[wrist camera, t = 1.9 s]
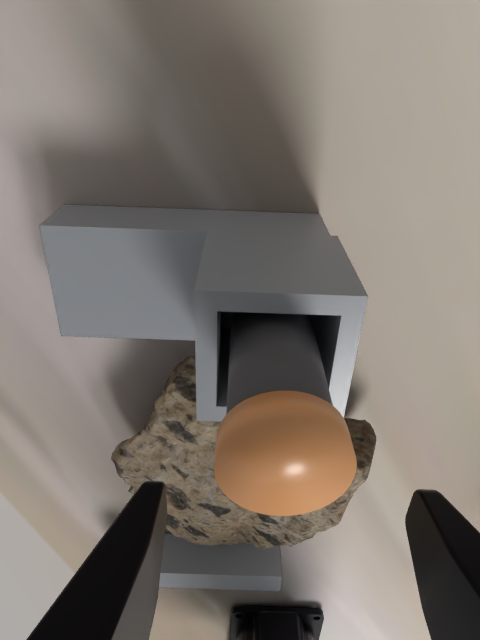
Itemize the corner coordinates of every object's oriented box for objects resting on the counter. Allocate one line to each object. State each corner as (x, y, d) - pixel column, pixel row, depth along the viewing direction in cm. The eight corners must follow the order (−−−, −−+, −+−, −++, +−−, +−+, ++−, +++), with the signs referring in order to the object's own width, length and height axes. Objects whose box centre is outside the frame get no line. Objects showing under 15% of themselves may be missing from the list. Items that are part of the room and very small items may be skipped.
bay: (281, 551, 29) (290, 682, 23) (120, 546, 29) (87, 676, 23) (326, 214, 18) (367, 296, 12) (64, 204, 18) (-30, 282, 12)
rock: (96, 468, 26) (69, 540, 22) (190, 315, 21) (177, 373, 17) (262, 534, 28) (264, 608, 24) (382, 412, 23) (408, 481, 19)
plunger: (312, 366, 15) (345, 518, 10) (224, 363, 15) (213, 514, 10) (323, 287, 14) (368, 419, 9) (225, 283, 14) (214, 414, 9)
